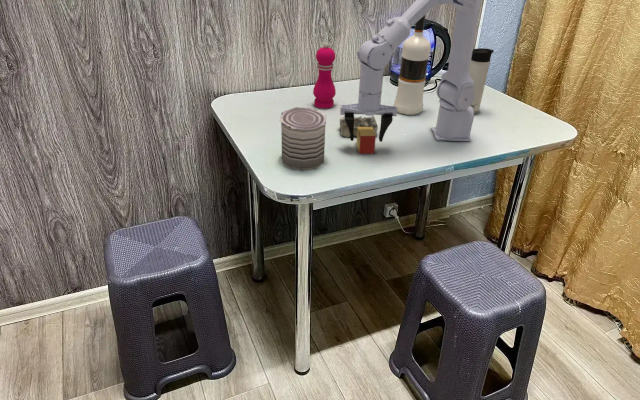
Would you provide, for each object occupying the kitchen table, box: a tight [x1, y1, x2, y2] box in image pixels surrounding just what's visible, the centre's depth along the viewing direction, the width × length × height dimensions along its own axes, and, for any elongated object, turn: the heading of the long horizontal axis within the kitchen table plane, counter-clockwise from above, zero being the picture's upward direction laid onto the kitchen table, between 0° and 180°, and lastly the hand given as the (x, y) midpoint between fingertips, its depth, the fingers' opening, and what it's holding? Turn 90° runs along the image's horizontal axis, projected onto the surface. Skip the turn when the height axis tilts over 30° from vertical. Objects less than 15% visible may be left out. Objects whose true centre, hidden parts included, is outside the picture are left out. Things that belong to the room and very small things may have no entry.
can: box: [279, 106, 327, 171], centre depth 118 cm, size 11×11×12 cm
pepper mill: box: [312, 41, 337, 109], centre depth 148 cm, size 7×7×20 cm
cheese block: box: [356, 127, 377, 155], centre depth 126 cm, size 4×6×5 cm
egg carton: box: [338, 115, 379, 138], centre depth 135 cm, size 11×8×4 cm
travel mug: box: [469, 47, 495, 115], centre depth 147 cm, size 6×7×20 cm
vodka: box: [393, 15, 432, 116], centre depth 143 cm, size 9×9×30 cm
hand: (366, 139), depth 126 cm, fingers open, 7 cm apart
